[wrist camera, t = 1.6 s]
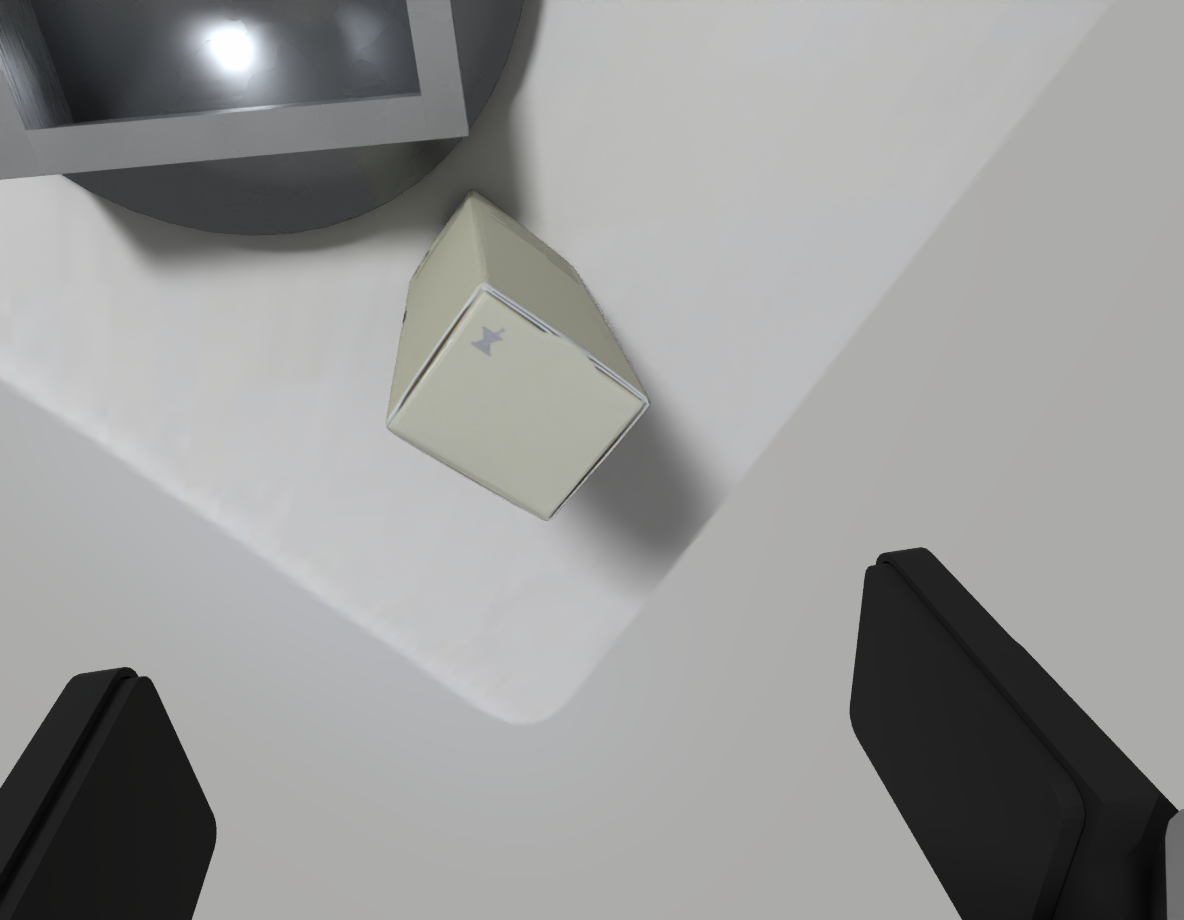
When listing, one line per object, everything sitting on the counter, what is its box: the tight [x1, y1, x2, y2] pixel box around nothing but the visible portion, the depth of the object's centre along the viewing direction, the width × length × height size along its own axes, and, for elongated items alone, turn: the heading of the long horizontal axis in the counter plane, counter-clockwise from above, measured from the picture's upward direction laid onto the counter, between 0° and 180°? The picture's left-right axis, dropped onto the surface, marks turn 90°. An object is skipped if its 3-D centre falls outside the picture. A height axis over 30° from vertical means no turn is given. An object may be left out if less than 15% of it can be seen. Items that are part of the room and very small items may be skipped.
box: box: [386, 190, 650, 521], centre depth 24 cm, size 5×4×13 cm
